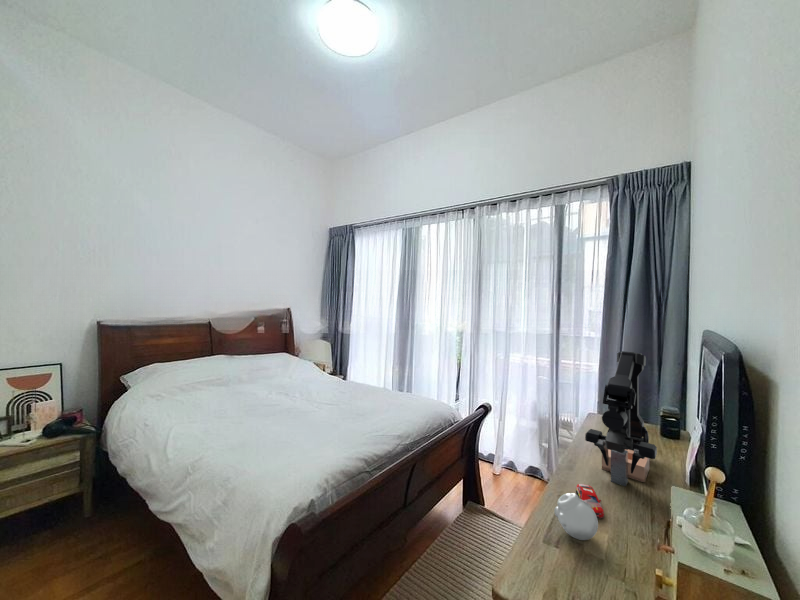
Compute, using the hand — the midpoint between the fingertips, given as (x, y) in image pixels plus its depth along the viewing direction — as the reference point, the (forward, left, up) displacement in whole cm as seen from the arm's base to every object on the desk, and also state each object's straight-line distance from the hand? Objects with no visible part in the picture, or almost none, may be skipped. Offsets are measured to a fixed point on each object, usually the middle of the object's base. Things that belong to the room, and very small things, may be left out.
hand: (619, 469), depth 103 cm
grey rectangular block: (0, 0, -4) cm, 4 cm away
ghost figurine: (+37, -3, -4) cm, 37 cm away
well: (-11, 0, -4) cm, 12 cm away
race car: (+21, -4, -5) cm, 22 cm away
